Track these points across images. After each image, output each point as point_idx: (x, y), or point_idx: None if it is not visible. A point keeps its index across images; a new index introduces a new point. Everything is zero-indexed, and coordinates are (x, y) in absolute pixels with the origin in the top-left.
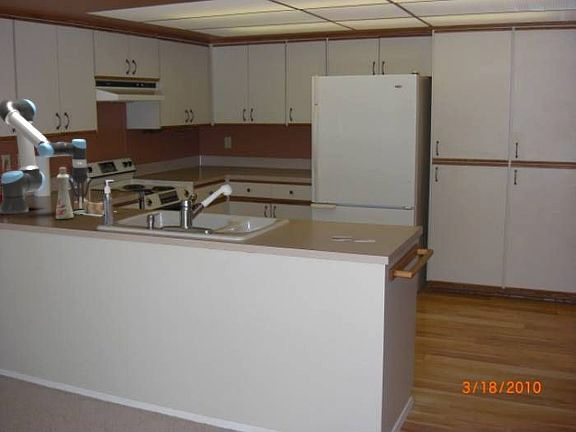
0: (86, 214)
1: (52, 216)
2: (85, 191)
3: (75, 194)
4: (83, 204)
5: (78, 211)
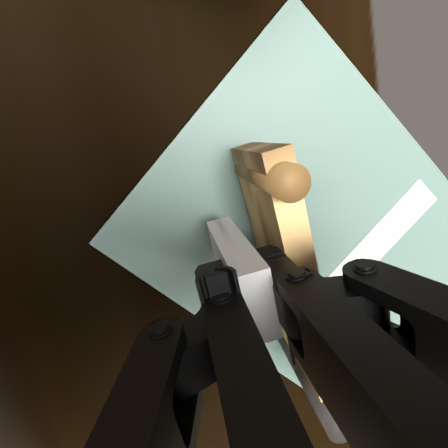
0: (285, 376)
1: (15, 424)
2: (403, 315)
3: (191, 405)
4: (251, 180)
5: (184, 189)
